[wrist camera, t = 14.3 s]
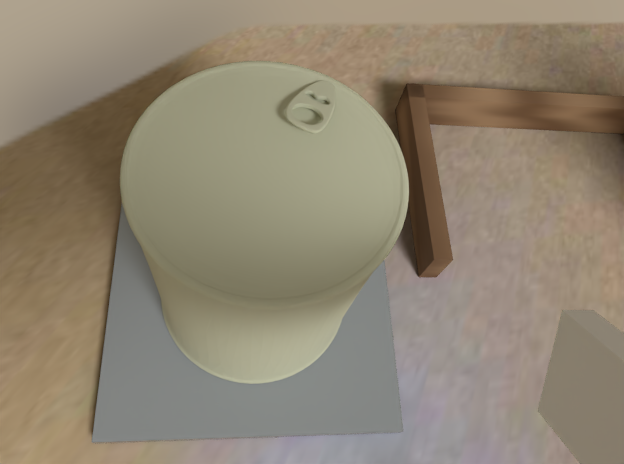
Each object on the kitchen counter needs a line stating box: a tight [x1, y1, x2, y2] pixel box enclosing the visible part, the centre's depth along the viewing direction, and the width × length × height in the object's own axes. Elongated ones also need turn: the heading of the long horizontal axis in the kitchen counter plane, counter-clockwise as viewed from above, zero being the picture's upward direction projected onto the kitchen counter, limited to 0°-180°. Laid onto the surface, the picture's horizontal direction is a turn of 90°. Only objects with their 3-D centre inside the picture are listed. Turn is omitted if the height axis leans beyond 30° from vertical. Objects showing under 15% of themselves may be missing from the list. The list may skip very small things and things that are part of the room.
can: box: [120, 61, 409, 384], centre depth 22 cm, size 9×9×12 cm
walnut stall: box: [395, 84, 624, 277], centre depth 32 cm, size 17×12×2 cm
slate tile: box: [92, 204, 403, 443], centre depth 27 cm, size 14×14×1 cm
